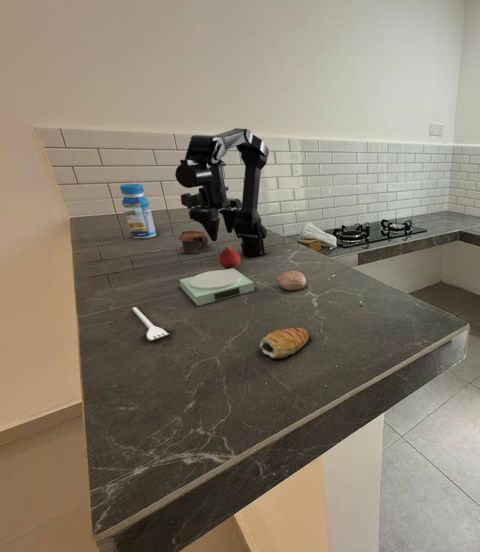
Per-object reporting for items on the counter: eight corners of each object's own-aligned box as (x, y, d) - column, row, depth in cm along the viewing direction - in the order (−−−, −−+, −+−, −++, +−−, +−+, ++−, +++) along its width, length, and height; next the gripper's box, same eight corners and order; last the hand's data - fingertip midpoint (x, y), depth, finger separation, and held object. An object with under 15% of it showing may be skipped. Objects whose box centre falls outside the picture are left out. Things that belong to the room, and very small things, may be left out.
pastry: (295, 331, 71) (294, 316, 70) (316, 342, 68) (316, 327, 66) (257, 351, 64) (254, 334, 62) (278, 364, 60) (276, 347, 59)
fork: (143, 308, 77) (141, 301, 77) (173, 340, 66) (171, 332, 65) (126, 312, 75) (123, 305, 74) (154, 347, 63) (152, 339, 63)
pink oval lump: (269, 286, 92) (280, 288, 86) (274, 265, 93) (286, 266, 87) (293, 292, 97) (305, 294, 91) (298, 272, 98) (311, 273, 92)
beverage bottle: (161, 236, 131) (149, 185, 124) (136, 240, 125) (122, 187, 117) (151, 232, 135) (139, 183, 128) (127, 236, 129) (112, 184, 121)
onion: (233, 274, 99) (229, 249, 96) (216, 272, 100) (212, 247, 96) (245, 268, 104) (242, 244, 101) (229, 266, 105) (225, 242, 102)
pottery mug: (171, 254, 113) (172, 231, 115) (196, 258, 122) (196, 237, 124) (197, 250, 110) (198, 226, 111) (220, 254, 119) (221, 233, 120)
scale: (234, 275, 98) (232, 265, 97) (255, 291, 89) (253, 280, 87) (181, 287, 88) (178, 276, 87) (198, 306, 79) (195, 294, 78)
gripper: (203, 178, 100) (211, 228, 106) (162, 186, 83) (175, 244, 89) (239, 180, 100) (246, 229, 106) (206, 188, 83) (216, 246, 89)
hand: (222, 236), depth 97 cm, fingers open, 9 cm apart
